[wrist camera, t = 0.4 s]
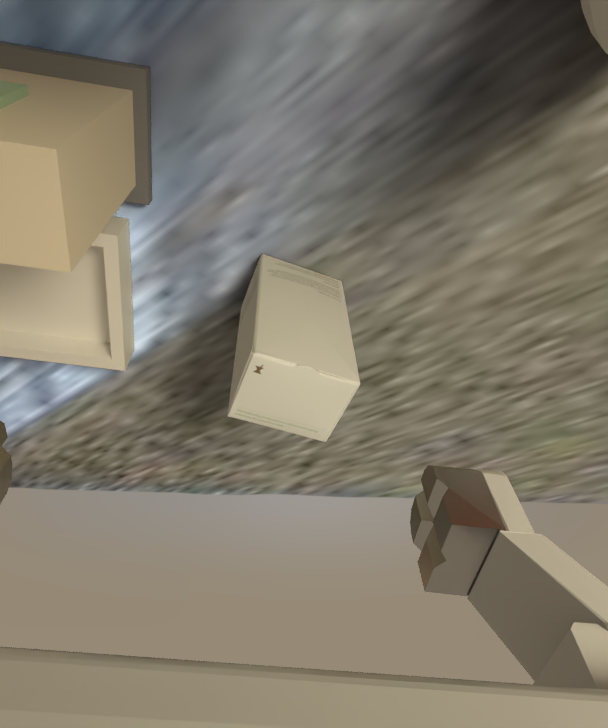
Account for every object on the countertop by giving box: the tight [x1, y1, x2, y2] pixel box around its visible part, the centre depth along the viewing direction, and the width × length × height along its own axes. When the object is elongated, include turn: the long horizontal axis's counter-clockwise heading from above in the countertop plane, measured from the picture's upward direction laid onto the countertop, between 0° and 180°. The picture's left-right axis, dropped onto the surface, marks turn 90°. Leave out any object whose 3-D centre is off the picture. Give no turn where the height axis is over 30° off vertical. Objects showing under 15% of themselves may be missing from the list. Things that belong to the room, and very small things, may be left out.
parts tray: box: [0, 217, 134, 371], centre depth 48 cm, size 14×14×4 cm
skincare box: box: [227, 254, 360, 442], centre depth 44 cm, size 8×7×16 cm
